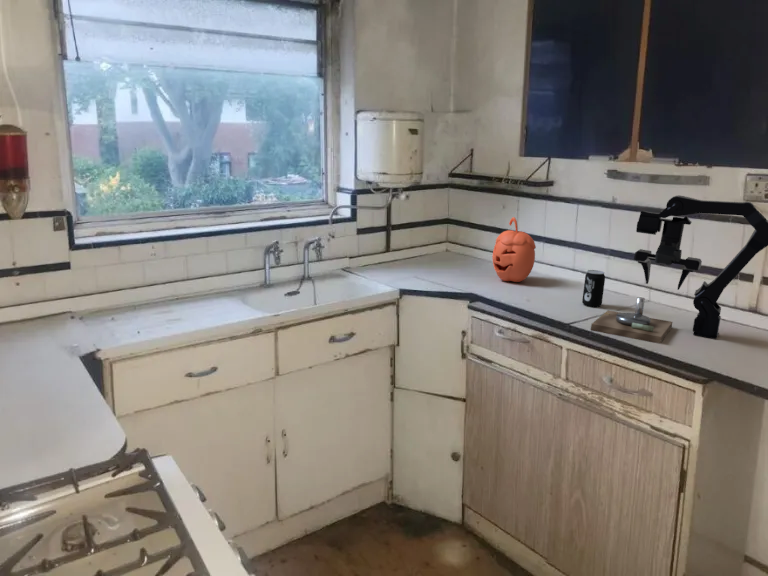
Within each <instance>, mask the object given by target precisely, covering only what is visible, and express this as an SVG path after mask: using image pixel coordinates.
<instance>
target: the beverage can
mask: <svg viewBox="0 0 768 576" xmlns="http://www.w3.org/2000/svg"><path fill="white" fill-rule="evenodd" d="M605 282H606V276H605V272H604V271H602V270H596V269H590V270H589V269H588V270H587V271H586V273H585V276H584V285H583V291H582V292H583V293H582V305H583V306H585V307H588V308H600V307H601V306H602V305H603V299H604V298H603V297H604V291H605V284H606V283H605Z"/></svg>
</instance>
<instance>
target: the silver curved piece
mask: <svg viewBox="0 0 768 576" xmlns="http://www.w3.org/2000/svg"><path fill="white" fill-rule="evenodd" d="M645 300H646V298H645V297H639V296H638V297H636V302H635V308H634V313H633V312H620V313H618V314H617V315H616V321H617V322H619V323H622V324H625V325H629V326H632V323H637V324H643V325H648V326H649V325H650V322H651V319H650V318H651V317H649V316H646V315H644V308H645Z"/></svg>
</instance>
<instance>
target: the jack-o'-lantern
mask: <svg viewBox="0 0 768 576" xmlns="http://www.w3.org/2000/svg"><path fill="white" fill-rule="evenodd" d="M512 223H514V227H515V228H514V229H515V230H511V229H508V230H504V231H502V232H500V234H499V235H498V236H497V237H496V239H495V244H494V246H493V247H494V248H493V251H492V256H491V257H492V264H493V268H494V271H495V273H496V275H497V277H498V278H499V279H500V280H502V281H504V282H514V283H519V282H522V281H524V280H526V278H527V277H529V275H530V274H531V272H532V271H533V269H534V268H533V267H534V264H535V261H536V260H535V259H536V251H535V249H537V248H536V247H537V246H536V243H535V240H534V239H533V238H532V236H531V235H529V234H528V233H526V231H522V230H521V231H520V230H519V229H518V228H519V227H518V221H517V219H516V217H514V216H512V218H510V220H509V222H508V224H509V226H512V225H513V224H512ZM518 230H519V231H518Z"/></svg>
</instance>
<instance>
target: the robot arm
mask: <svg viewBox="0 0 768 576" xmlns="http://www.w3.org/2000/svg"><path fill="white" fill-rule="evenodd" d="M665 207H666V208H664V209H662V210H660V212H651V211H646V210H641V211H640V212H639V213H640V215H639V217H638V221H637V223H636V230H635V231H636V233H639V234H646V235H647V234H648V235H653V236H654V235H657V233H660V232H661V229H662V232H661V238H660V243H659V245H658V247H657V249H656V252H655V253H652V250H647V249H643V248H642V249H641V248H640V249H638V250H637V251H636V252H634V256H633V260H634V261H637V263H638V264H640V265H641V266H642V269H643V273H644V278H645V279H644V280H645V284H647V285H648V284H649V282H650V275H651V268H652V267H651V265H652V261H654V262H655V264H664V265H667V266H671V265H673V264H675V265H681V266H683V267H684V268H682V270H681V275H680V278H679V280H678V284H677V290H680V288H681V287H682V285H683V283H684V281H685V280H686V279H687V277H688V275H689V274H690V273H694V272H695V271H699V270H700V269H701V268H702V259H701V258H697V257H690V256H687V258H682V249H681V245H682V238H683V233H684V228H685V227H684V226H685V225H689V226H690V225H691V224H692V220H691V219H689V216H690V215H696V214H706V215H707V214H708V215H709V214H710V215H724V216H725V215H726V216H728V215H729V216H742V217H744V219H746V221H747V222H748V224H749V225H751V227H752V228H754V230H753V232H752V233H751V235H750V237H749V239H748V240H747V242H746V244H745V245H744V246H743V247H742V248H741V250H740V251H739V252H738V253H737V254H736V255H735V256H734V257H733V259H731V260H730V261H729V263H728V264H726V266H725V267H724V268H723V269H722V270H721V272H720V273H719V274H718V275H717V276H716V277H715V278H714V279H713V280H711V282H706V281H703V282H702V284H701V286H699V288H698V289H695V291H694V298H693V301H692V302H693V303H692V304H693V306H694V308H695V310H697V311H698V313H697V315H696V317H694V319H693V320H694V321H693V326H692V333H693V336H696V337H697V336H698V337H702V338H709V339H713V340H714V339H715V340H716V339H717V338H718V337H719V330H720V329H719V328H720V323H721V319H722V318H721V317H722V316H721V312H722V311H721V310H722V307H721V305H719V304H718V300H719V298H720V297H721V295H722V294H723V292H724V290H725V289H726V288H727V287H728V286H729V284H730V283H731V282H732V281H733V280H734V279H735V278H736V276H737V275H738V274H740V272H741V271H742V270H743V269H744V268H746V266H747V265H748V264H749V262H750V261H751V260H752V259H753V258H754V257H755V256H756V255H757V254H758V253H760V252H761V251H762V250H764V249H765V248H767V247H768V219H767V218H766V217H765V216H764V215H763V214H762V213H761V212H760V211H759V210H758V209H757V208H756V207H755V205H754V203H752V202H750V201H722V200H703V199H702V200H701V199H699V198H698V199H697V198H694V197H689V196H685V195H675V196H672V197H671V198H670V199H669V200H667V202H666V206H665ZM688 215H689V216H688ZM670 216H673V217H672V218H671V219H668V217H670ZM679 216H684V217H679ZM662 224H663V225H662ZM662 226H663V227H662Z"/></svg>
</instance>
